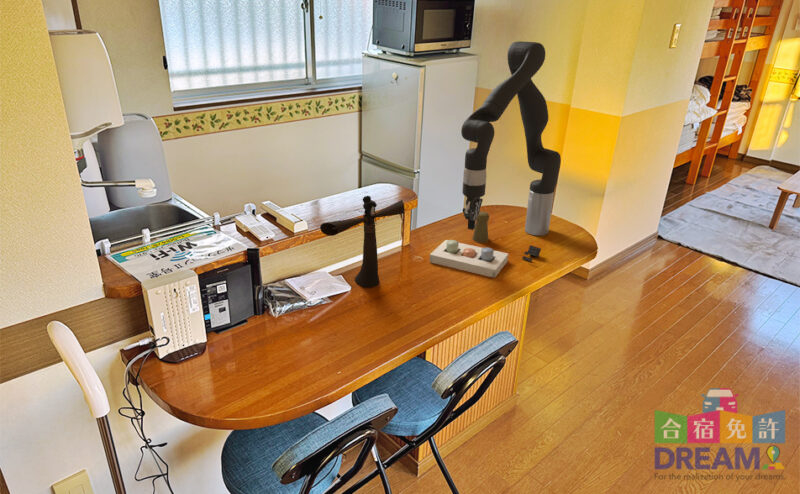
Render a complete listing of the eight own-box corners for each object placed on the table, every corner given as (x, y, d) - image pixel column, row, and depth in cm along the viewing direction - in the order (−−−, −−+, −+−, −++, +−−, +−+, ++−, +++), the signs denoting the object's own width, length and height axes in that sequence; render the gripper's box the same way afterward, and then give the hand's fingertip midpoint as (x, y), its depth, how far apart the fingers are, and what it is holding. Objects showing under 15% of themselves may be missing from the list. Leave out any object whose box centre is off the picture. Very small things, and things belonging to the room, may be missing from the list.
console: (445, 247, 204) (445, 239, 203) (507, 261, 194) (508, 253, 193) (429, 262, 193) (429, 254, 191) (494, 277, 183) (495, 269, 181)
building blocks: (541, 248, 197) (532, 245, 191) (536, 263, 198) (527, 260, 191) (533, 246, 199) (524, 243, 193) (528, 260, 200) (519, 258, 193)
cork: (469, 237, 212) (471, 211, 207) (482, 234, 214) (484, 208, 209) (477, 243, 207) (480, 216, 202) (491, 240, 209) (493, 214, 205)
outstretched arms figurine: (334, 303, 167) (330, 211, 154) (317, 290, 174) (312, 202, 161) (411, 272, 186) (413, 188, 173) (393, 262, 192) (394, 180, 179)
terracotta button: (465, 257, 196) (466, 247, 194) (476, 259, 194) (477, 249, 192) (460, 262, 192) (461, 251, 191) (472, 264, 191) (472, 254, 189)
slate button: (482, 256, 192) (483, 246, 191) (494, 259, 191) (495, 249, 189) (478, 261, 189) (479, 251, 187) (490, 264, 187) (491, 253, 185)
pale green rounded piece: (448, 249, 198) (449, 239, 196) (459, 251, 196) (460, 241, 194) (444, 253, 194) (444, 243, 193) (455, 256, 193) (455, 245, 191)
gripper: (471, 173, 187) (468, 220, 195) (456, 184, 177) (453, 233, 184) (492, 176, 184) (488, 224, 192) (478, 188, 174) (474, 238, 181)
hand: (471, 228), depth 188 cm, fingers closed
